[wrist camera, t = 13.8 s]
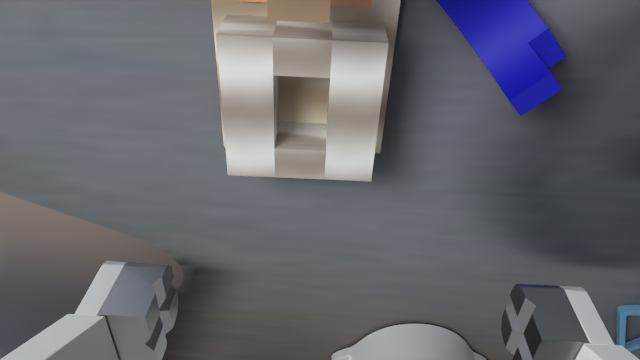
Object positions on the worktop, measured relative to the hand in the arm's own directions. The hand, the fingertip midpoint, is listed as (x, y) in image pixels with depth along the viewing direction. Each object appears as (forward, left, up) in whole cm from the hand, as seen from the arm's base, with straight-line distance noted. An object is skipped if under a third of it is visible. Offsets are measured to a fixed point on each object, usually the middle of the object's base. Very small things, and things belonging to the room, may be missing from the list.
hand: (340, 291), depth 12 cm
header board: (-2, +2, -28) cm, 28 cm away
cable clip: (-1, -10, -28) cm, 30 cm away
